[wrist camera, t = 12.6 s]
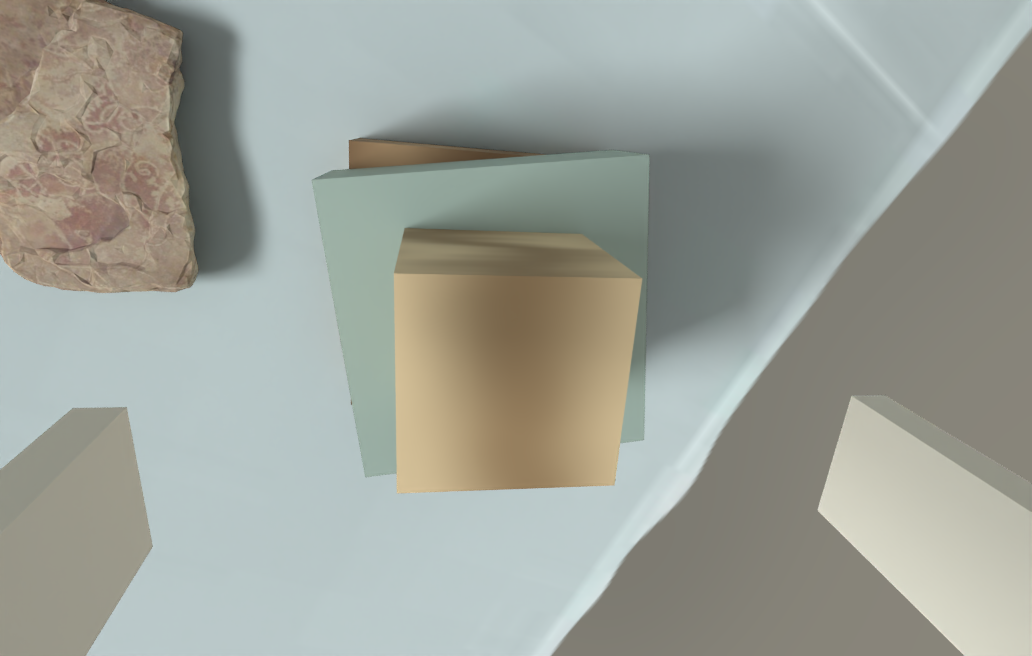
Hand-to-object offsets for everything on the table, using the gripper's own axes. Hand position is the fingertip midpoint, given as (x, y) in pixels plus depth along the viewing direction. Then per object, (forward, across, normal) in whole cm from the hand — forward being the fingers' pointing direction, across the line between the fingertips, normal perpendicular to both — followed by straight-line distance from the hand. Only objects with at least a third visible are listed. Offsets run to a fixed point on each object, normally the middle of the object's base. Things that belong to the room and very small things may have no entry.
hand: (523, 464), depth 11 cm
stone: (+18, -16, +5) cm, 25 cm away
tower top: (+14, +1, -1) cm, 14 cm away
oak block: (+10, +1, 0) cm, 10 cm away
